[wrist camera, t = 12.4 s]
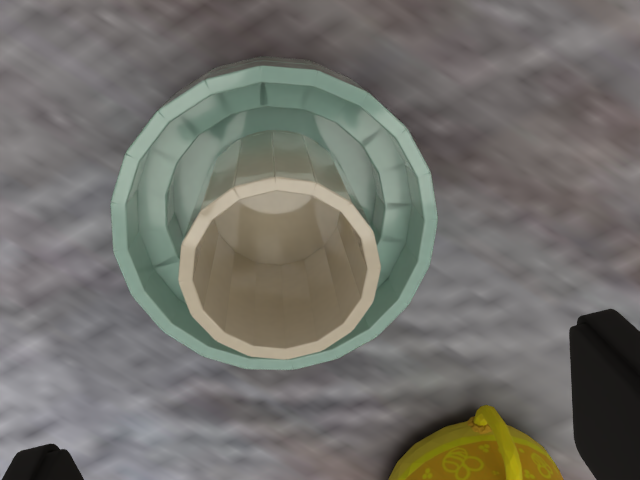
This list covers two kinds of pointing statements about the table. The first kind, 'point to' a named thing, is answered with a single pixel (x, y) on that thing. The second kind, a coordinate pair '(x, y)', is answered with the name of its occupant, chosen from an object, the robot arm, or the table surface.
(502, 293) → the table surface
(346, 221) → the cup
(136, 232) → the bowl
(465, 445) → the mug
